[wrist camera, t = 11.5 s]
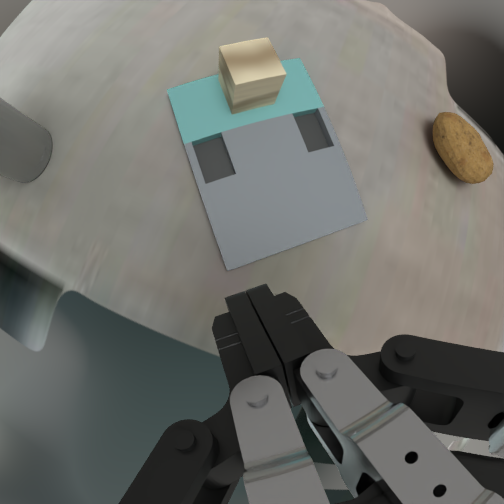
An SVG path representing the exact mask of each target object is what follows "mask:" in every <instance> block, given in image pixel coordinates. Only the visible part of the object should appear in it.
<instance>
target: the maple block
mask: <svg viewBox="0 0 504 504" xmlns="http://www.w3.org/2000/svg"><path fill="white" fill-rule="evenodd" d="M285 77H286V72H285V70H284V68H283V66H282V64H281V62H280V60H279V58H278V56H277V54H276V52H275V50H274V48H273V46H272V44H271V42H270V41H269V39H268V37H267V38H261V39H255V40H249V41H244V42H239V43H234V44H229V45H224V46H220V47H219V74H218V80H219V83H220V85H221V88H222V90H223V93H224V96H225V98H226V101H227V103H228V106H229V108H230V111H231V114H232V115H233V114H236V113H240V112H244V111H248V110H251V109H255V108H259V107H264V106H268V105H272V104H274V103H275V101H276V98H277V96H278V94H279V91H280V89H281V86H282V84H283V82H284V79H285Z"/></svg>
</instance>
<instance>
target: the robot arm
mask: <svg viewBox="0 0 504 504" xmlns="http://www.w3.org/2000/svg"><path fill="white" fill-rule="evenodd" d="M51 151H52V139H51V136H50V134H49V132H48V131H47V130H46V129H44V128H43V127H41V126H40V125H39V124H37V123H36V122H34V121H33V120H32V119H30V118H29V117H27V116H26V115H24V114H23V113H21V112H20V111H19V110H17V109H16V108H14V107H13V106H11V105H10V104H9V103H7V102H6V101H4V100H3V99H1V98H0V176H3V177H6V178H9V179H12V180H15V181H18V182H22V183H26V182H30V181H32V180H34V179H35V178H37V177H38V176H39V175H40V174H41V173H42V171H43V170H44V169H45V167H46V165H47V163H48V161H49V158H50V155H51ZM225 301H226V304H227V307H228V310H229V312H228V313H225V314H222V315H219V316H216V317H215V319H214V323H213V326H212V331H213V334H214V337H215V341H216V344H217V348H218V351H219V354H220V358H221V361H222V364H223V368H224V371H225V374H226V377H227V380H228V384H229V388H230V393H229V398H228V400H227V402H226V404H225V405H224V407H223V408H222V409H221V410H220V411H219V412H218V413H216V414H215V415H213V416H212V417H210V418H208V419H207V420H205V421H204V422H199V421H196V420H181V421H178V422H176V423H174V424H172V425H171V426H169V427H168V428H167V429H166V431H165V432H164V433H163V435H162V436H161V438H160V440H159V441H158V443H157V444H156V446H155V448H154V449H153V451H152V452H151V454H150V456H149V457H148V459H147V460H146V462H145V463H144V465H143V467H142V468H141V470H140V471H139V473H138V474H137V476H136V478H135V479H134V481H133V482H132V484H131V485H130V487H129V488H128V490H127V492H126V493H125V495H124V496H123V498H122V499H121V501H120V502H119V504H228V502H229V500H230V498H231V496H232V494H233V492H234V490H235V487H236V486H237V484H238V481H239V479H240V477H242V476H243V478H244V483H245V488H246V492H247V496H248V500H249V504H330V503H329V501H328V498H327V496H326V493H325V491H324V488H323V486H322V484H321V481H320V479H319V476H318V474H317V471H316V469H315V466H314V464H313V461H312V459H311V457H310V455H309V453H308V452H307V450H306V448H305V445H304V443H303V440H302V438H301V435H300V433H299V430H298V427H297V425H296V422H295V420H294V417H293V414H292V412H291V409H290V408H292V407H291V402H292V404H293V406H294V407H295V406H297V405H300V404H302V406H303V408H304V410H305V412H306V414H307V420H308V423H309V425H310V426H311V428H312V430H313V431H314V433H315V434H316V436H317V437H318V439H319V440H320V442H321V443H322V445H323V446H324V448H325V449H326V451H327V452H328V454H329V455H330V457H331V458H332V460H333V461H334V463H335V464H336V466H337V467H338V470H339V472H340V475H341V477H342V479H343V481H344V483H345V484H346V486H347V487H348V489H349V490H350V492H351V493H352V495H353V496H354V499H352V500H349V501H345V502H341V503H336V504H504V459H502V458H496V457H489V456H483V455H477V454H471V453H466V452H461V451H449V450H448V449H447V448H446V447H445V445H444V444H443V443H442V442H441V441H440V440H439V439H438V438H437V437H436V436H435V435H434V433H433V432H438V433H442V434H448V435H453V436H459V437H465V438H471V439H478V440H485V441H489V444H490V445H489V452H490V453H491V454H492V455H498V456H501V457H504V353H503V352H497V351H491V350H485V349H480V348H474V347H468V346H463V345H458V344H452V343H447V342H442V341H437V340H432V339H427V338H422V337H417V336H412V335H397V336H394V337H392V338H390V339H388V340H387V341H386V342H385V343H384V345H383V347H382V349H381V352H376V353H371V354H366V355H359V356H350V355H346V354H345V353H343V352H341V351H339V350H336V349H334V348H333V347H332V346H331V345H330V344H329V342H328V341H327V339H326V338H325V337H324V335H323V334H322V333H321V331H320V330H319V328H318V327H317V326H316V324H315V323H314V322H313V320H312V319H311V318H310V317H309V315H308V313H307V312H306V311H305V309H303V307H302V305H301V304H300V302H299V301H298V300H297V298H295V297H293V296H291V295H289V294H288V293H286V292H284V293H281V294H278V295H276V296H274V295H273V294H272V292H271V291H270V289H269V287H268V286H267V284H263V285H260V286H258V287H255V288H252V289H249V290H246V293H245V291H244V292H241V293H238V294H235V295H232V296H229V297H226V298H225ZM290 400H291V402H290ZM432 431H433V432H432Z"/></svg>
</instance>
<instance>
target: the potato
mask: <svg viewBox="0 0 504 504" xmlns="http://www.w3.org/2000/svg"><path fill="white" fill-rule="evenodd" d="M433 142H434V145H435V148H436V150H437V152H438V153H439V155H440V157H441V158H442V160H443V161H444V163H445V164H446V165H447V167H448V168H449V169H450V170H451V171H452V173H453V174H454V175H455V176H457V177H458V178H459V179H460V180H462V181H464V182H466V183H471V184H475V183H480V182H483V181H485V180H486V179H487V178H488V177H489V176H490V175H491V174H492V170H493V161H492V158H491V155H490V153H489V152H488V150H487V148H486V146H485V144H484V143H483V141H482V139H481V137H480V135H479V133H478V132H477V131H476V130H475V129H474V128H473V127H472V126H471V125H470V124H469V123H467V122H466V121H465V120H464V119H463V118H462V117H460V116H459V115H457V114H455V113H451V112H443V113H439V114H438V116H437V117H436V119H435V121H434V124H433Z"/></svg>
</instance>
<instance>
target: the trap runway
mask: <svg viewBox="0 0 504 504" xmlns="http://www.w3.org/2000/svg"><path fill="white" fill-rule="evenodd" d="M280 62H281V64H282V66H283V68H284V70H285V72H286V77H285V79H284V82H283V84H282V86H281V89H280V91H279V94H278V96H277V98H276V101H275V103H274V104H272V105H268V106H264V107H259V108H255V109H251V110H248V111H244V112H240V113H236V114H233V115H232V114H231V111H230V108H229V106H228V103H227V101H226V98H225V96H224V93H223V90H222V88H221V85H220V83H219V80H218V74H217V75H213V76H210V77H206V78H203V79H199V80H196V81H192V82H189V83H186V84H183V85H179V86H176V87H173V88H170V89H167V92H168V95H169V98H170V101H171V105H172V108H173V111H174V114H175V118H176V121H177V124H178V127H179V130H180V133H181V136H182V140H183V143H184V146H185V149H186V152H187V155H188V158H189V161H190V164H191V167H192V170H193V173H194V176H195V179H196V182H197V185H198V188H199V191H200V194H201V197H202V200H203V203H204V206H205V209H206V212H207V215H208V218H209V220H210V223H211V226H212V229H213V232H214V235H215V238H216V240H217V243H218V246H219V249H220V252H221V255H222V257H223V260H224V263H225V266H226V269H227V271H229V270H232V269H235V268H237V267H240V266H243V265H246V264H249V263H251V262H254V261H257V260H260V259H262V258H265V257H268V256H271V255H273V254H276V253H279V252H282V251H284V250H287V249H290V248H293V247H295V246H298V245H301V244H304V243H306V242H309V241H312V240H314V239H317V238H320V237H323V236H325V235H328V234H331V233H333V232H336V231H339V230H342V229H344V228H347V227H350V226H352V225H355V224H358V223H360V222H363V221H366V220H368V219H367V216H366V213H365V210H364V207H363V204H362V201H361V198H360V195H359V192H358V189H357V187H356V184H355V181H354V178H353V176H352V173H351V170H350V168H349V165H348V163H347V160H346V157H345V155H344V152H343V150H342V147H341V145H340V142H339V140H338V138H337V135H336V133H335V131H334V128H333V126H332V124H331V121H330V119H329V117H328V115H327V112H326V110H325V108H324V106H323V104H322V101H321V99H320V97H319V95H318V93H317V91H316V89H315V87H314V85H313V83H312V81H311V79H310V77H309V75H308V73H307V71H306V69H305V67H304V65H303V63H302V61H301V59H300V58H297V59H290V60H284V61H280Z"/></svg>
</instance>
